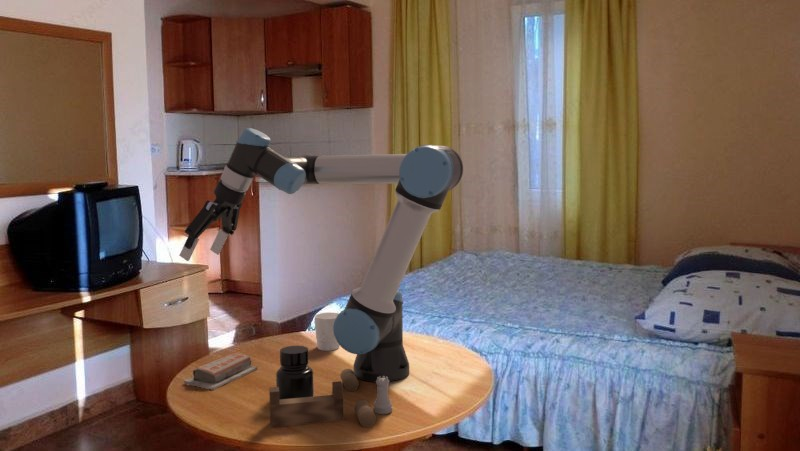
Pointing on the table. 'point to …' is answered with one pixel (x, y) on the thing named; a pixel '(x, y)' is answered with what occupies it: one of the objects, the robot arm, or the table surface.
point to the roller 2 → (365, 413)
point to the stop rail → (306, 408)
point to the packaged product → (221, 371)
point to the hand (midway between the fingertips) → (199, 255)
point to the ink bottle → (294, 373)
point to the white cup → (325, 331)
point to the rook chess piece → (382, 396)
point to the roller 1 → (349, 380)
